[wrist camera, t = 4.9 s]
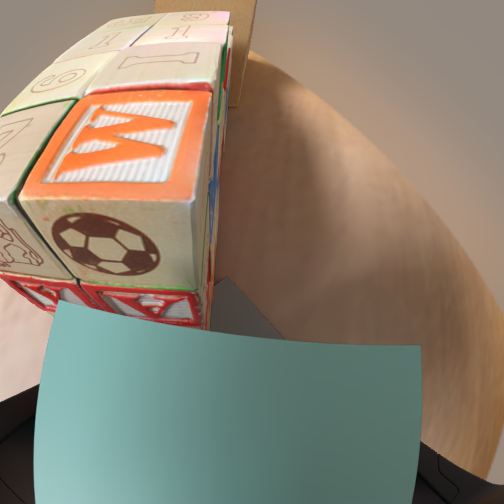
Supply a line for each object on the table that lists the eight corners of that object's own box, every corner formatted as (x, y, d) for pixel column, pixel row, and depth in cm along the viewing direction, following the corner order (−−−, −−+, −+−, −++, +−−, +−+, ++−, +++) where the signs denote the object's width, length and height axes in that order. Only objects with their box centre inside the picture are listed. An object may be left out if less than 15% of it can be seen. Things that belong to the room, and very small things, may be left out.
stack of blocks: (163, 114, 24) (158, -6, 14) (228, 115, 25) (240, -7, 14) (98, 348, 13) (-72, 203, 3) (211, 360, 14) (193, 192, 3)
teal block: (256, 471, 11) (376, 606, 1) (165, 460, 11) (52, 584, 1) (264, 390, 13) (420, 345, 3) (174, 378, 13) (59, 299, 3)
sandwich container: (243, 57, 34) (258, -34, 21) (241, 109, 26) (264, -31, 13) (183, 54, 33) (189, -37, 20) (157, 106, 25) (154, -32, 12)
